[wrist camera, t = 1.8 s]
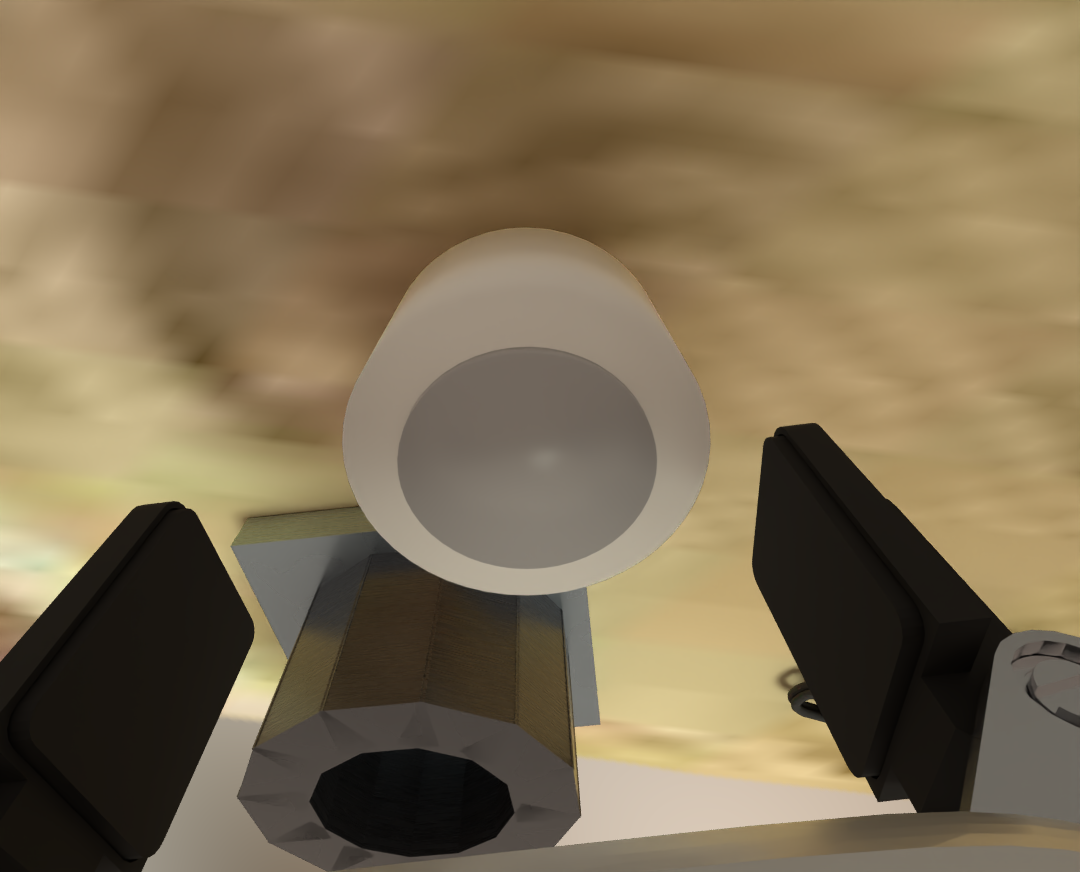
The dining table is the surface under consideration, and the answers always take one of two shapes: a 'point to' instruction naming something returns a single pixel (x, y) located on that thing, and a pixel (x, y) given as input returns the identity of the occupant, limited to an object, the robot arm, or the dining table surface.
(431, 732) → the gray square-based holder
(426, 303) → the cup
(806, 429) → the robot arm
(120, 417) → the dining table surface
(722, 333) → the dining table surface
